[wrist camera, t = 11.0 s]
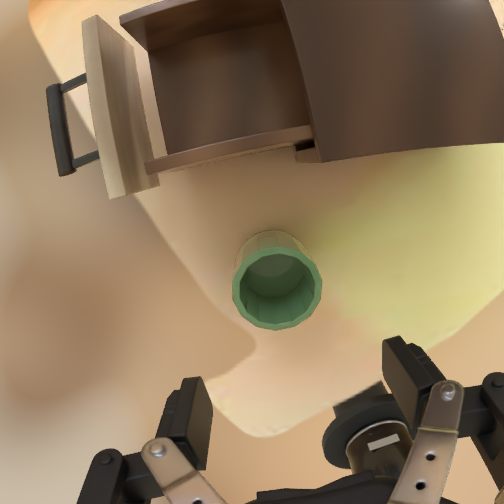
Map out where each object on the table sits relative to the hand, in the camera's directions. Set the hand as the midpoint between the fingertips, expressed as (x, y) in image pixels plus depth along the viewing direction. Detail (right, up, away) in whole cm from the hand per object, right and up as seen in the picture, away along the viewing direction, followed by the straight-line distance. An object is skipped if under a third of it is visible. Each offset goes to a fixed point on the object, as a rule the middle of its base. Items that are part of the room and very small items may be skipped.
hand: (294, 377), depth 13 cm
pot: (0, +4, +14) cm, 15 cm away
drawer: (-6, +17, +10) cm, 21 cm away
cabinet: (+9, +21, +10) cm, 24 cm away
